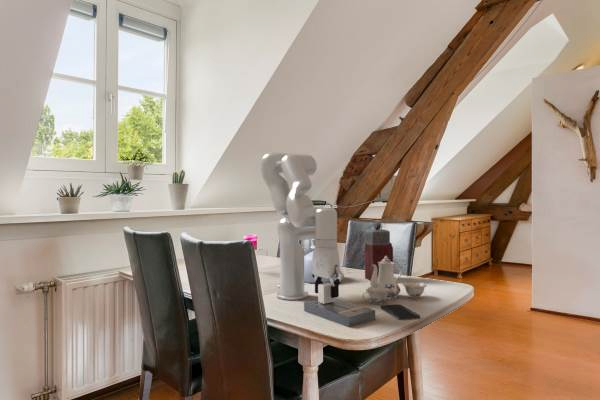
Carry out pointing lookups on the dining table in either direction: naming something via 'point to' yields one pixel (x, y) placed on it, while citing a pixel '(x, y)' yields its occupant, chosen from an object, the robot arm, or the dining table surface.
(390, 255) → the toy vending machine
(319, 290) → the fader tab
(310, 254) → the bottle
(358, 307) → the fader console
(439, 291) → the dining table surface
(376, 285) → the chinaware
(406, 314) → the phone
